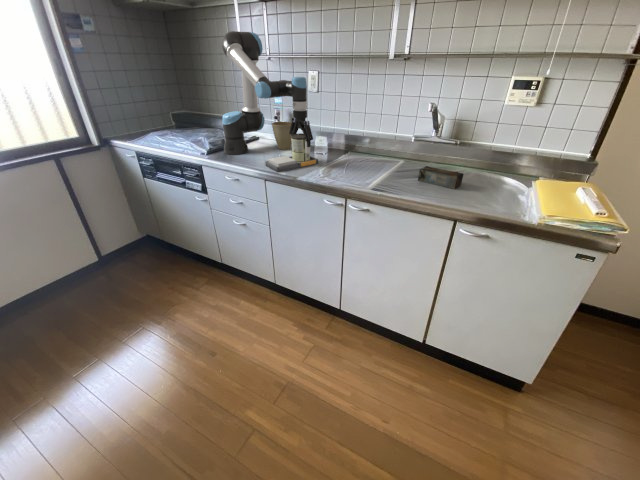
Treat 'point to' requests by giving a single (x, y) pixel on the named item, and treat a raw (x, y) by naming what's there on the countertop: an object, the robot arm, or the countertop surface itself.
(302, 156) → the coffee can
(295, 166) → the grey compartment tray
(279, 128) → the plant pot
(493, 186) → the countertop surface
